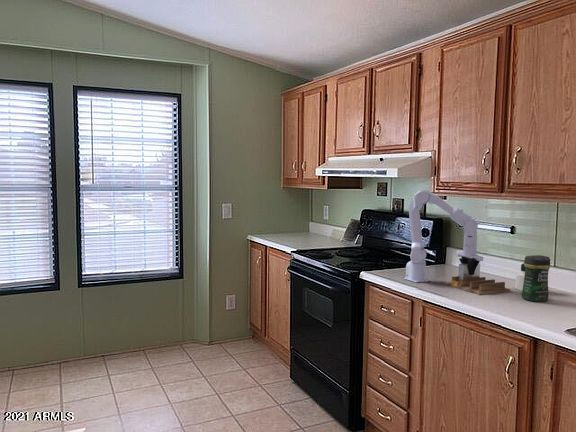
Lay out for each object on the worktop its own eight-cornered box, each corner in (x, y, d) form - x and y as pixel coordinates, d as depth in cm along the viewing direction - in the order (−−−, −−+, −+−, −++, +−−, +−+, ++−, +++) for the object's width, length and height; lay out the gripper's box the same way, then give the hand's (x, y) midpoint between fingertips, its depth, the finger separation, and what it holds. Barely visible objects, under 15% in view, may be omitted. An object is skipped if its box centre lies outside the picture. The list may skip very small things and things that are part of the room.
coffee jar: (531, 302, 195) (534, 257, 194) (518, 298, 203) (520, 254, 202) (552, 301, 198) (554, 256, 196) (538, 297, 205) (540, 253, 204)
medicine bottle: (526, 292, 214) (527, 265, 213) (514, 288, 220) (516, 262, 219) (539, 291, 215) (541, 264, 214) (528, 287, 222) (529, 262, 221)
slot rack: (446, 285, 226) (446, 276, 226) (476, 282, 233) (476, 274, 233) (479, 294, 208) (479, 285, 208) (509, 291, 215) (510, 282, 215)
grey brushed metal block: (458, 282, 225) (458, 263, 224) (474, 281, 229) (475, 262, 228) (462, 284, 222) (463, 264, 222) (479, 282, 226) (480, 263, 226)
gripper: (488, 246, 219) (487, 276, 220) (465, 242, 232) (464, 270, 234) (476, 247, 216) (475, 277, 217) (453, 243, 230) (452, 271, 231)
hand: (468, 274), depth 225 cm, fingers closed on grey brushed metal block, 3 cm apart
